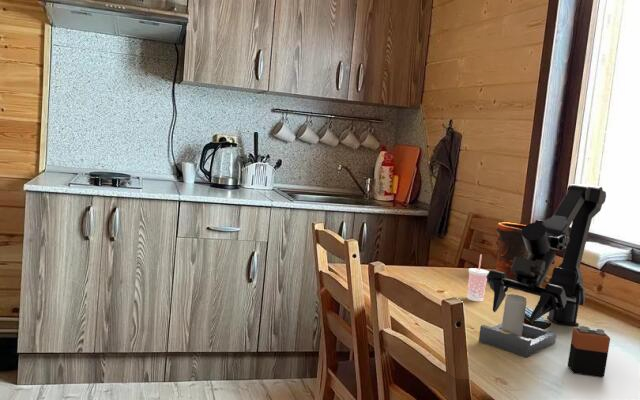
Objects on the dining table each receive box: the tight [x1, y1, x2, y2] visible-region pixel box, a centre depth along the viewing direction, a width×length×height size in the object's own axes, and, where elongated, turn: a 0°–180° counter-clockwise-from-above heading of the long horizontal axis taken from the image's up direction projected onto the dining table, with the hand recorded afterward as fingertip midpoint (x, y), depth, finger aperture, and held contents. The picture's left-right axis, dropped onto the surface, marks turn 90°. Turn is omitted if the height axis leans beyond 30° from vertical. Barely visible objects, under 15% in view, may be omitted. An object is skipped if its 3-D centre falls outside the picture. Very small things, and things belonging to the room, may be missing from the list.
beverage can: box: [501, 294, 527, 337], centre depth 150 cm, size 5×5×12 cm
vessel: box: [495, 221, 530, 281], centre depth 221 cm, size 14×14×20 cm
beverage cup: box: [467, 254, 490, 302], centre depth 190 cm, size 6×6×14 cm
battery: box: [567, 325, 611, 378], centre depth 137 cm, size 4×7×10 cm, turn 83°
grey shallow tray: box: [478, 322, 557, 358], centre depth 153 cm, size 18×12×4 cm
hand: (511, 316), depth 148 cm, fingers open, 9 cm apart
